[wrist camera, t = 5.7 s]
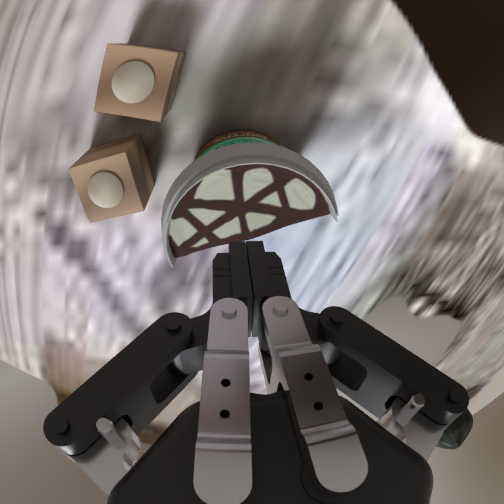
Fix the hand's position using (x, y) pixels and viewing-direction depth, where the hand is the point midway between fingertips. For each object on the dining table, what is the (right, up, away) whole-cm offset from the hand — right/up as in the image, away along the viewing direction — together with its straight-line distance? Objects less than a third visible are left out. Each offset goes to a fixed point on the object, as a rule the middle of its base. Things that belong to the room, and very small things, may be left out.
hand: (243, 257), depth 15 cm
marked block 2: (-11, +8, +12) cm, 18 cm away
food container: (-1, +9, +12) cm, 15 cm away
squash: (+58, -48, +61) cm, 97 cm away
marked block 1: (-8, +15, +8) cm, 18 cm away
